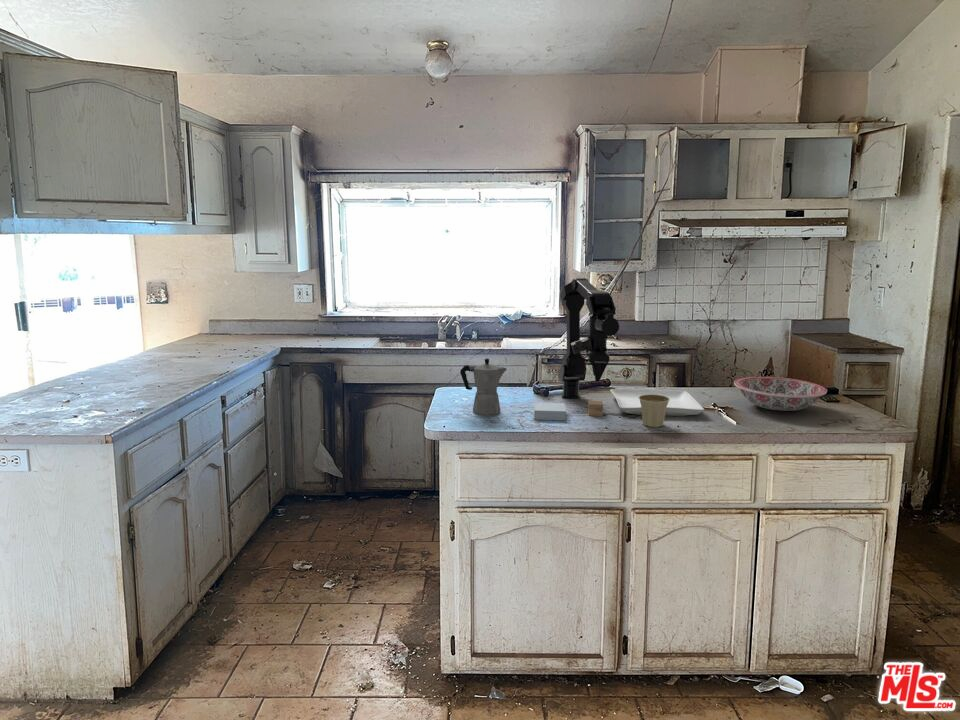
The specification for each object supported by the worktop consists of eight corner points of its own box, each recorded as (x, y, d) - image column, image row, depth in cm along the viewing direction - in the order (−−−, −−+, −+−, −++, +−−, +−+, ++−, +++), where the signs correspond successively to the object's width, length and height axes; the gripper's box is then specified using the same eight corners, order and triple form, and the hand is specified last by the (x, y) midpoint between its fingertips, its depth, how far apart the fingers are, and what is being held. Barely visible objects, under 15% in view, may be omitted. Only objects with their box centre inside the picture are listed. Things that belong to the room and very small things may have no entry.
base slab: (534, 411, 230) (534, 402, 229) (564, 412, 229) (564, 403, 228) (534, 419, 220) (534, 410, 219) (565, 420, 219) (565, 411, 219)
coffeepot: (506, 408, 234) (507, 356, 230) (506, 415, 224) (507, 361, 221) (461, 407, 234) (461, 355, 231) (459, 414, 225) (459, 360, 222)
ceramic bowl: (741, 394, 255) (742, 373, 254) (828, 405, 241) (830, 382, 239) (724, 411, 231) (726, 388, 229) (820, 425, 216) (823, 400, 215)
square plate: (704, 420, 222) (705, 408, 221) (619, 418, 224) (619, 406, 223) (685, 399, 249) (686, 389, 248) (609, 397, 250) (609, 387, 250)
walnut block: (587, 412, 230) (588, 400, 229) (601, 412, 229) (601, 401, 228) (588, 415, 225) (589, 404, 224) (602, 416, 225) (603, 404, 224)
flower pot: (646, 430, 209) (648, 402, 208) (631, 421, 218) (633, 395, 217) (674, 427, 212) (675, 400, 210) (658, 419, 221) (659, 393, 219)
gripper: (571, 326, 232) (570, 371, 235) (574, 335, 213) (572, 384, 216) (605, 327, 231) (603, 372, 234) (610, 336, 212) (608, 385, 216)
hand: (596, 378), depth 225 cm, fingers open, 9 cm apart
